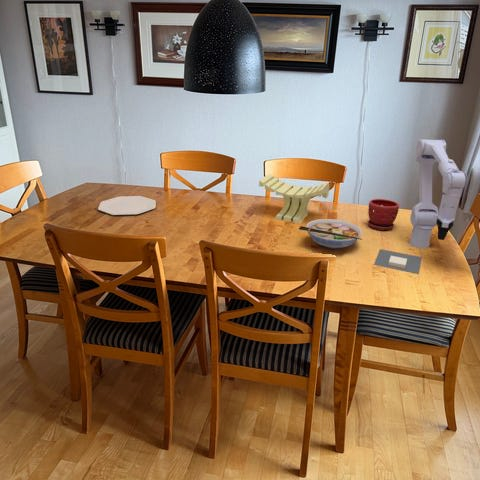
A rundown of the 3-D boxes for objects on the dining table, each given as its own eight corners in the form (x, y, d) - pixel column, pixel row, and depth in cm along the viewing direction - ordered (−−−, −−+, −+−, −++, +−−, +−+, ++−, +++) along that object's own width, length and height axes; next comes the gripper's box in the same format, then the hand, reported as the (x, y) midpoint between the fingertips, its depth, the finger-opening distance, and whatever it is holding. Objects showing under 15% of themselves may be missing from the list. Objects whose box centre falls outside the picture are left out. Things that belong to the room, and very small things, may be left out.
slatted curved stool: (325, 215, 209) (330, 180, 202) (317, 226, 196) (322, 189, 189) (268, 206, 220) (270, 172, 213) (257, 215, 207) (259, 180, 200)
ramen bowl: (366, 240, 182) (369, 223, 179) (356, 262, 163) (360, 242, 160) (309, 230, 192) (311, 213, 188) (294, 249, 172) (296, 230, 169)
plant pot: (400, 229, 196) (405, 204, 191) (380, 234, 190) (385, 208, 185) (379, 219, 207) (383, 196, 202) (359, 224, 200) (363, 200, 195)
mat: (379, 250, 173) (380, 248, 173) (421, 259, 167) (421, 257, 167) (373, 266, 160) (373, 264, 160) (418, 276, 154) (418, 274, 154)
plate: (130, 195, 231) (130, 192, 230) (167, 206, 216) (167, 203, 216) (87, 208, 210) (87, 205, 210) (124, 221, 196) (124, 218, 195)
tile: (390, 255, 164) (388, 261, 159) (407, 258, 162) (405, 265, 157) (390, 258, 165) (388, 265, 160) (406, 262, 163) (404, 268, 158)
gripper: (437, 197, 162) (430, 230, 167) (436, 208, 150) (428, 243, 155) (458, 200, 159) (449, 234, 164) (458, 212, 147) (449, 247, 152)
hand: (440, 239), depth 160 cm, fingers closed
